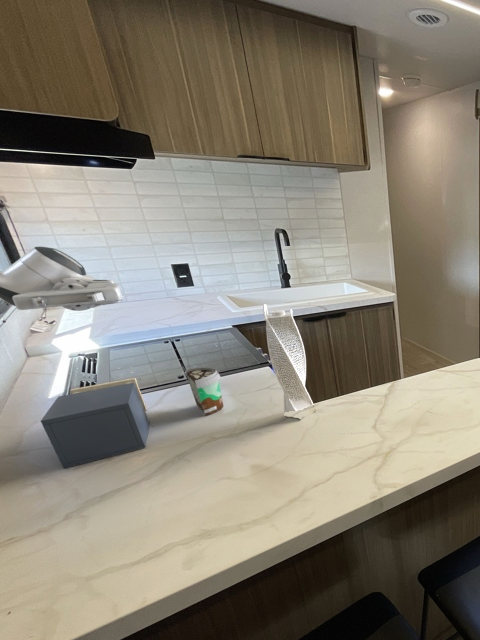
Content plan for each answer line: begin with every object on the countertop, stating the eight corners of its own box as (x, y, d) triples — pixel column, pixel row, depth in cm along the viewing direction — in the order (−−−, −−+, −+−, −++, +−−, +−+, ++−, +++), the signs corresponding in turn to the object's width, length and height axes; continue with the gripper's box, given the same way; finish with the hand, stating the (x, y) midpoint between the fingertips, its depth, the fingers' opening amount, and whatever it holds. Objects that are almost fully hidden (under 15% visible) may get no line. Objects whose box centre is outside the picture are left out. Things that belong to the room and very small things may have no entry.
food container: (234, 409, 105) (224, 374, 101) (206, 417, 101) (195, 381, 97) (221, 397, 113) (211, 363, 109) (195, 404, 109) (184, 369, 105)
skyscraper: (276, 418, 100) (248, 306, 90) (299, 405, 106) (276, 300, 96) (300, 422, 97) (275, 308, 87) (323, 409, 104) (301, 302, 94)
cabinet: (77, 439, 92) (58, 396, 88) (149, 422, 99) (134, 382, 95) (63, 468, 80) (40, 420, 77) (145, 447, 88) (128, 402, 84)
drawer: (89, 415, 101) (74, 383, 98) (148, 403, 107) (136, 372, 104) (74, 445, 87) (57, 408, 84) (143, 429, 94) (130, 394, 90)
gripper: (16, 286, 105) (-2, 293, 95) (120, 279, 116) (114, 284, 106) (27, 310, 107) (11, 319, 97) (127, 300, 119) (122, 308, 108)
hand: (65, 301), depth 101 cm, fingers open, 8 cm apart
